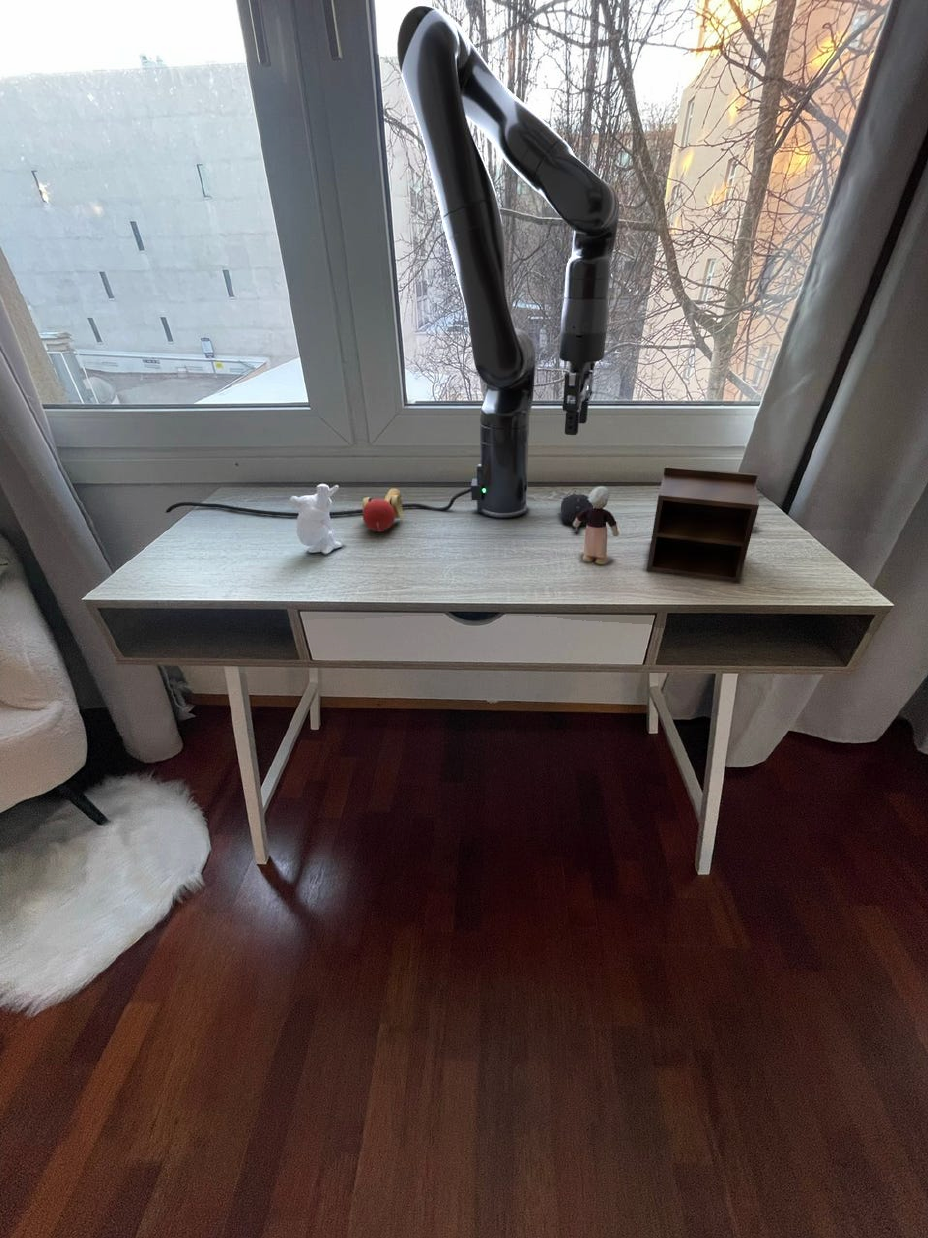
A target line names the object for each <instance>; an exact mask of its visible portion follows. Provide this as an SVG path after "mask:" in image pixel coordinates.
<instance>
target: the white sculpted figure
mask: <svg viewBox="0 0 928 1238" xmlns="http://www.w3.org/2000/svg"><path fill="white" fill-rule="evenodd" d="M338 490H339V484H336V485H333V486H332V487H331V488H330V487H329V485H327V484H325V483H320V484H318V485H316V493H314V494H311V495H310V494H309V495H301V496H296V495H292V496H291V497H290V498H289V506H290V508H291V509H292V510H298V509H299V511H298V513H299V514H298V516H296V518H297V519H296V520H297V521H296V536H297V538H298V540H299V542H300V543H301V544H302V545H304V546H306V547H309V548H308V552H309V553H322V554H324V555H327V554H330V553H331V552H332V551H333V550H336V549H339V548H342V547H343V544H342V543H341V542H339V541H336V540H335V538H334V537H335V533H334V529H333V527H332V520H331V516H329V512H331V510H332V505H333V502H332V499H331V496H332V495H334V494H335V493H336V492H337V491H338Z"/></svg>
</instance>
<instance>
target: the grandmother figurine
mask: <svg viewBox="0 0 928 1238" xmlns="http://www.w3.org/2000/svg"><path fill="white" fill-rule="evenodd" d="M610 495H611V494H610V490H609V489H608V487H606V486H603V485H601V486H596V487H594V488H593V489H592V490H591V492H590V493H589V494H588V497H589V498H588V499H587V500H589V502H590V503H592V505H593V508H587V509H584V510H583V511H581V512H580V513H579V514H578V515H577V516H576V517H577V518H576V519H575V522H574V523H573V525H572V526H573V527H574V528H575V527H578V528H579V527H580V526H579V524H580V523H581V522H583V521H588V524H587V525H585V526H586V527H585V532H584V538H583V539H584V540H583V556H582V561H583V562H586V563H591V562H593V561H594V563H595V564H598V565H605V564H607V563H609V562H610V561H611V559H610V557H609V556H608V555H607V552H608V526H609V528H610V530H611V532H612V533H611V534H612V536H613V537H618V536H619V535H620V532H619V530H618V524H617V523H618V522H617V521H616V519H615V517H614V516H613V514H612V513H611V511H609V510H607V509H605V507H607V505H608V502H609V499H610ZM607 525H608V526H607Z"/></svg>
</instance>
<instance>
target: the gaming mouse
mask: <svg viewBox="0 0 928 1238" xmlns="http://www.w3.org/2000/svg"><path fill="white" fill-rule="evenodd" d="M588 498H589V496H587V495H585V494H577V493H576V494H575V493H572V494H571V495H568V496H565V497H563V499H562V500H561V503H560V514H561V516H560V517H561V521H562V522H563V523H564V524H566V525H569V526H573V523H574V522H575V519H576V518H577V517H576V516H577V515H578V514H579V513H580V512H581V511H583V510H584V509H587V508H594V507H593V505H592V503H590V502H589V500H587V499H588ZM587 524H588V521H583V522H581V523H580V524H579V526H578V527H574V529H575V531H574V533H575V534H579V533H578V530H579V527H583V526H587Z"/></svg>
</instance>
